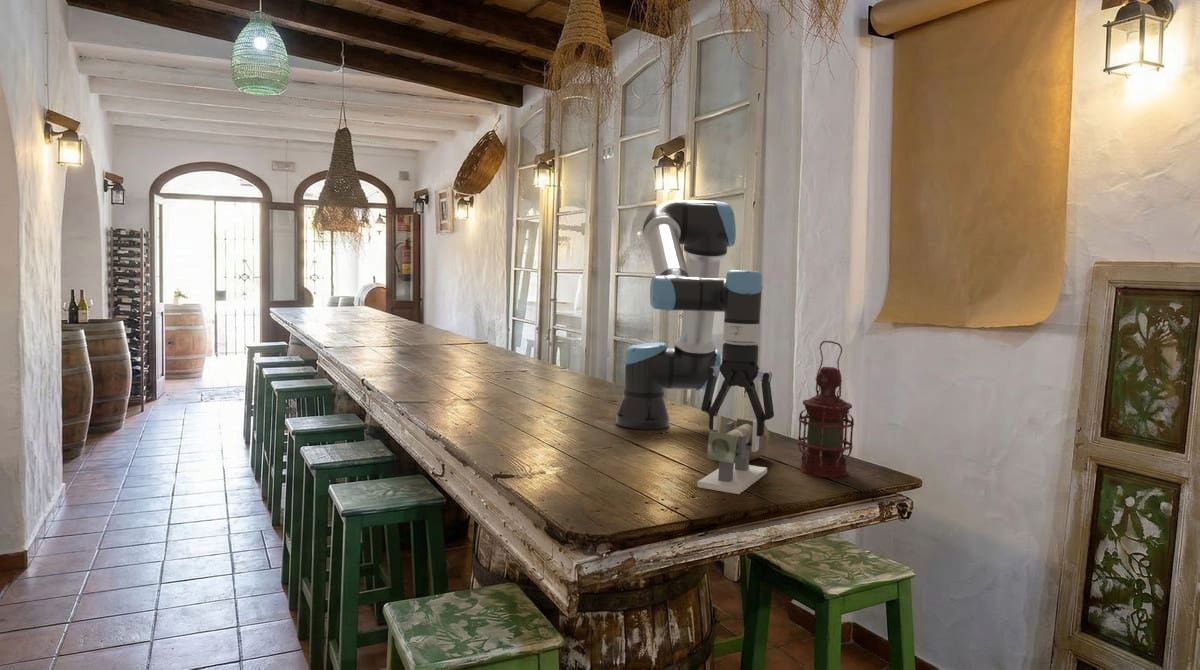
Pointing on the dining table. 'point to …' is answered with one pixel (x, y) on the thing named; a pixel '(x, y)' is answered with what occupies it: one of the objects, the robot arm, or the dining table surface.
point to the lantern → (826, 426)
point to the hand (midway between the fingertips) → (735, 447)
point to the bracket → (734, 469)
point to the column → (728, 441)
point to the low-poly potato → (763, 441)
